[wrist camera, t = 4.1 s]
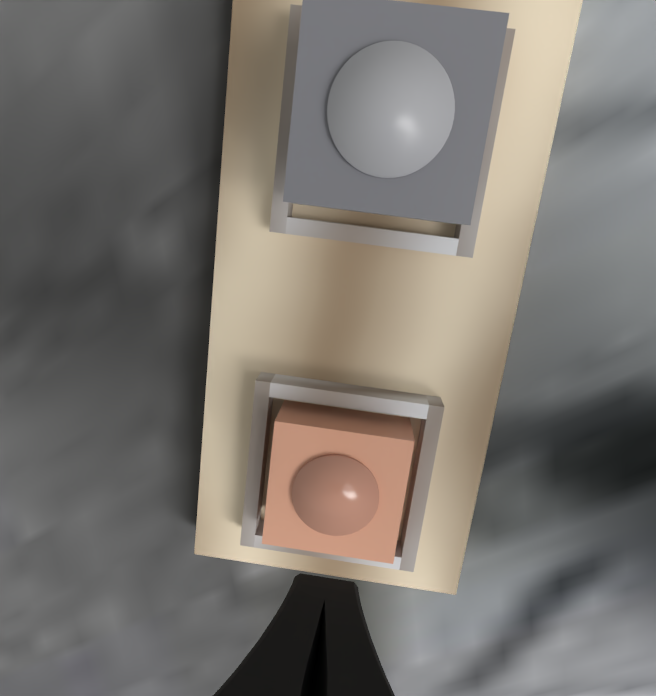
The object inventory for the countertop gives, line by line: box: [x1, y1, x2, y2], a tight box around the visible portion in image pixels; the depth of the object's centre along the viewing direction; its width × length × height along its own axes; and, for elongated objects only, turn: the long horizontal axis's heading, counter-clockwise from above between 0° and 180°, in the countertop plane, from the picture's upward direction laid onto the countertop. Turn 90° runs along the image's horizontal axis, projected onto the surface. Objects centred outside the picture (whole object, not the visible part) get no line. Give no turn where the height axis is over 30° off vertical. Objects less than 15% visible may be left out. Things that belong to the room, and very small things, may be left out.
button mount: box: [194, 0, 583, 595], centre depth 18 cm, size 10×20×2 cm, turn 173°
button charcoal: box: [283, 0, 509, 225], centre depth 13 cm, size 4×4×2 cm
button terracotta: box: [262, 400, 415, 564], centre depth 18 cm, size 4×4×2 cm
